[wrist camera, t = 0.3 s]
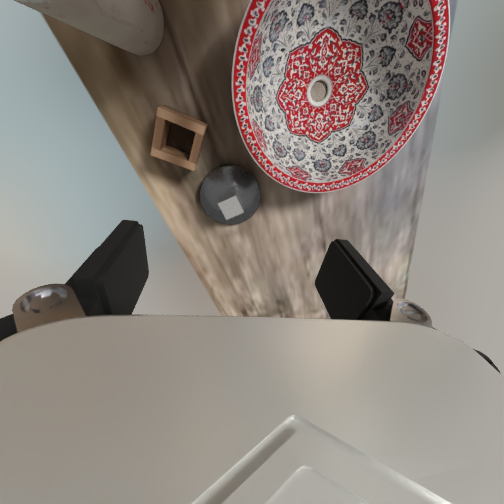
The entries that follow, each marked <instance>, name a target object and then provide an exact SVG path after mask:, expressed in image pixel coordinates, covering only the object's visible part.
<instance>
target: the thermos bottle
mask: <svg viewBox="0 0 504 504" xmlns="http://www.w3.org/2000/svg"><path fill="white" fill-rule="evenodd" d="M15 1H17V2H19V3H21V4H24V5H26V6H28V7H30V8H33V9H35V10H37V11H39V12H41V13H43V14H46V15H48V16H50V17H52V18H55V19H57V20H59V21H61V22H63V23H66V24H68V25H70V26H72V27H75V28H77V29H79V30H81V31H83V32H86V33H88V34H90V35H92V36H94V37H97V38H99V39H101V40H103V41H106V42H108V43H110V44H112V45H114V46H117V47H119V48H121V49H123V50H126V51H128V52H130V53H133V54H136V55H148V54H150V53H153V52H154V51H155V50H156V49H157V48H158V47H159V45H160V43H161V41H162V38H163V34H164V18H163V13H162V9H161V6H160V3H159V1H158V0H15Z"/></svg>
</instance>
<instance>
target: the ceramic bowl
mask: <svg viewBox="0 0 504 504" xmlns="http://www.w3.org/2000/svg"><path fill="white" fill-rule="evenodd" d="M449 33H450V6H449V0H250V2H249V4H248V6H247V9H246V11H245V13H244V16H243V19H242V22H241V25H240V28H239V32H238V36H237V40H236V44H235V50H234V55H233V63H232V78H231V89H232V102H233V109H234V115H235V119H236V123H237V127H238V130H239V133H240V136H241V138H242V140H243V143H244V145H245V147H246V149H247V150H248V152H249V154H250V155H251V157H252V158H253V160H254V161H255V162H256V164H257V165H258V166H259V167H260V168H261V169H262V170H263V171H264V172H265V173H266V174H267V175H268V176H269V177H271V178H272V179H273V180H275V181H276V182H278V183H279V184H282V185H284V186H286V187H288V188H291V189H293V190H297V191H301V192H307V193H326V192H333V191H337V190H341V189H344V188H347V187H350V186H352V185H354V184H357V183H359V182H361V181H362V180H364V179H366V178H368V177H369V176H371V175H372V174H374V173H375V172H377V171H378V170H379V169H381V168H382V167H383V166H384V165H386V164H387V163H388V162H389V161H390V160H391V159H392V158H393V157H394V156H395V155H396V154H397V153H398V152H399V151H400V150H401V149H402V148H403V146H404V145H405V144H406V143H407V141H408V140H409V139H410V138H411V136H412V135H413V133H414V132H415V131H416V129H417V128H418V126H419V124H420V123H421V121H422V119H423V118H424V116H425V114H426V112H427V110H428V108H429V107H430V104H431V102H432V100H433V98H434V95H435V93H436V90H437V88H438V85H439V82H440V79H441V76H442V72H443V69H444V65H445V60H446V56H447V50H448V44H449ZM319 80H322V81H324V82H325V83H326V85H327V89H328V90H327V94H326V97H325V98H324V99H323V100H322V101H320V102H315V101H313V100H312V98H311V96H310V90H311V87H312V85H313V84H314V83H315V82H316V81H319Z"/></svg>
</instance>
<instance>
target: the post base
mask: <svg viewBox="0 0 504 504" xmlns="http://www.w3.org/2000/svg"><path fill="white" fill-rule="evenodd" d="M200 200H201V204H202V206H203V208H204V210H205V212H206V213H207V214H208V215H209V216H210V217H211V218H212V219H214V220H215V221H217V222H220V223H223V224H239V223H242V222H244V221H246V220H248V219H249V218H250V217H251V216H252V215H253V214H254V213H255V212H256V210H257V208H258V206H259V203H260V189H259V186H258V183H257V181H256V179H255V178H254V176H253V175H252V174H251V173H250V172H249V171H247V170H246V169H244V168H242V167H240V166H236V165H223V166H219V167H217V168H215V169H213V170H212V171H211V172H209V173H208V175H207V176H206V177H205V179H204V181H203V183H202V186H201V190H200Z"/></svg>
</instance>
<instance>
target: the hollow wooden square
mask: <svg viewBox="0 0 504 504" xmlns="http://www.w3.org/2000/svg"><path fill="white" fill-rule="evenodd" d="M171 122H172V123H175V124H177V125H180V126H182V127H184V128H187V129H189V130H191V131H194V132H196V133H195V137H194V141H193V146H192V150H191V154H189V153H186V152H184V151H181V150H178V149H176V148H173V147H171V146H168V145H167V140H168V134H169V129H170V123H171ZM207 125H208V124H207V123H204V122H202V121H200V120H198V119H195V118H193V117H191V116H188V115H186V114H184V113H182V112H179V111H177V110H175V109H172V108H170V107H168V106H166V105H165V106H159V107H158V108H157V115H156V122H155V128H154V135H153V142H152V148H151V155H152V156H154V157H157V158H160V159H162V160H165V161H168V162H171V163H173V164H176V165H179V166H181V167H184V168H187V169H189V170H192V171H194V170H195V168H196V166H197V163H198V159H199V156H200V152H201V148H202V144H203V140H204V136H205V133H206V129H207Z"/></svg>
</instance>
